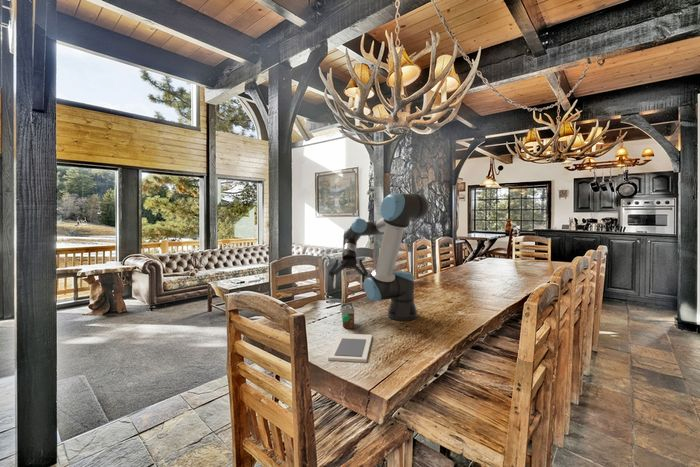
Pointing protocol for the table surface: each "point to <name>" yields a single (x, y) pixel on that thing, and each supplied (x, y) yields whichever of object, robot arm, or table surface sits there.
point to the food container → (347, 315)
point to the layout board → (351, 348)
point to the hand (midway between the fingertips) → (347, 287)
